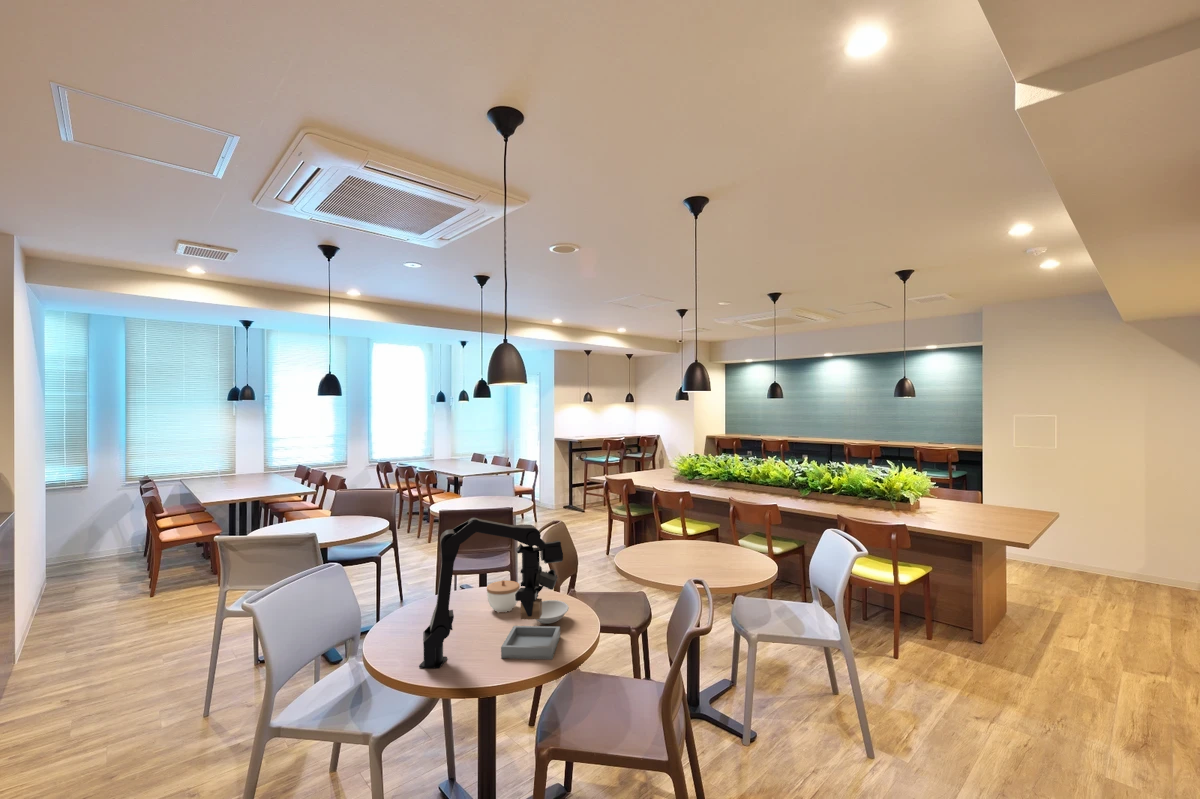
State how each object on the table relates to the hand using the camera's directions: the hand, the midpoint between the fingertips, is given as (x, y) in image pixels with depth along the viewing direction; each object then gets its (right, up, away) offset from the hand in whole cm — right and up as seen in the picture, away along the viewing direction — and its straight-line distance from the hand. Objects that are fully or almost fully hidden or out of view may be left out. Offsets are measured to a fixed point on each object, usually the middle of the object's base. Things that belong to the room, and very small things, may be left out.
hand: (531, 613), depth 168 cm
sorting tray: (0, -11, 0) cm, 11 cm away
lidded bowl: (-15, -12, +33) cm, 38 cm away
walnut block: (0, -1, 0) cm, 1 cm away
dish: (+4, -12, +19) cm, 23 cm away
